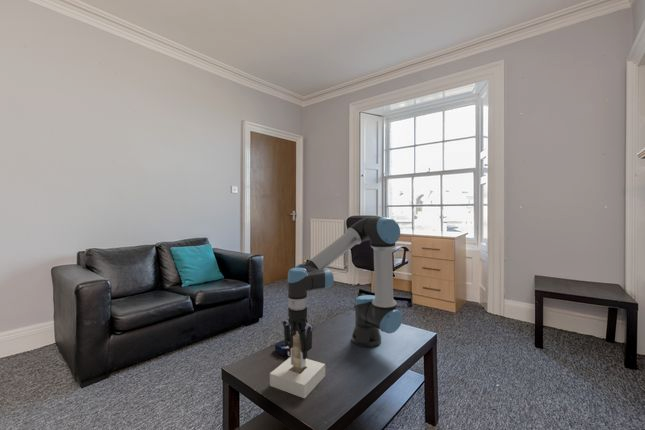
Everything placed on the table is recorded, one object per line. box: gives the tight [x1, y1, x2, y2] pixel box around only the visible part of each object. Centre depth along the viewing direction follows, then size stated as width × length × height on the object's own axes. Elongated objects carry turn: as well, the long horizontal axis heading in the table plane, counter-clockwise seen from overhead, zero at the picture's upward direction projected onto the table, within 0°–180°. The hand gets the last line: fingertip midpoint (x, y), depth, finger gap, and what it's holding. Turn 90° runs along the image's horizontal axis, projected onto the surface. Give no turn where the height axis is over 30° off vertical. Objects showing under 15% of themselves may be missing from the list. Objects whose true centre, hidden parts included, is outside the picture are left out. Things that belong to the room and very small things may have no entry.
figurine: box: [274, 340, 291, 357], centre depth 139 cm, size 9×4×15 cm
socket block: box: [269, 356, 326, 399], centre depth 117 cm, size 16×16×5 cm
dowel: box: [293, 332, 303, 374], centre depth 117 cm, size 4×4×16 cm
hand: (298, 364), depth 117 cm, fingers closed on dowel, 4 cm apart
